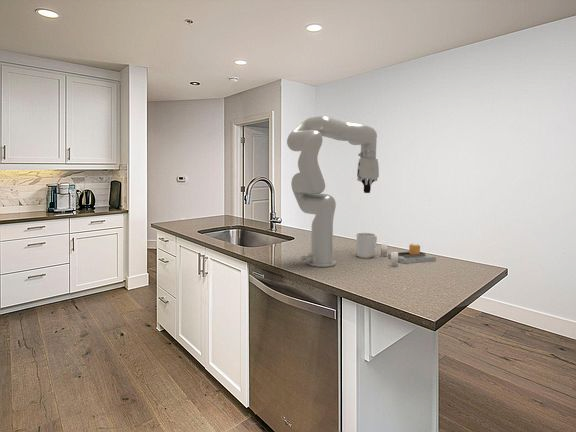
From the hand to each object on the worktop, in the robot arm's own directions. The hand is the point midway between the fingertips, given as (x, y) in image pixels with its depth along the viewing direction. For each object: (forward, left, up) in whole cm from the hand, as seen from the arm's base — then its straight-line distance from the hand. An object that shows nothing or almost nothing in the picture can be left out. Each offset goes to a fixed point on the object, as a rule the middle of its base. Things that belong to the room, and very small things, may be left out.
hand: (366, 192), depth 184 cm
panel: (+15, -18, -31) cm, 39 cm away
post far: (+6, -8, -31) cm, 33 cm away
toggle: (+17, -18, -29) cm, 38 cm away
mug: (-2, -6, -31) cm, 32 cm away
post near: (0, -26, -31) cm, 41 cm away
